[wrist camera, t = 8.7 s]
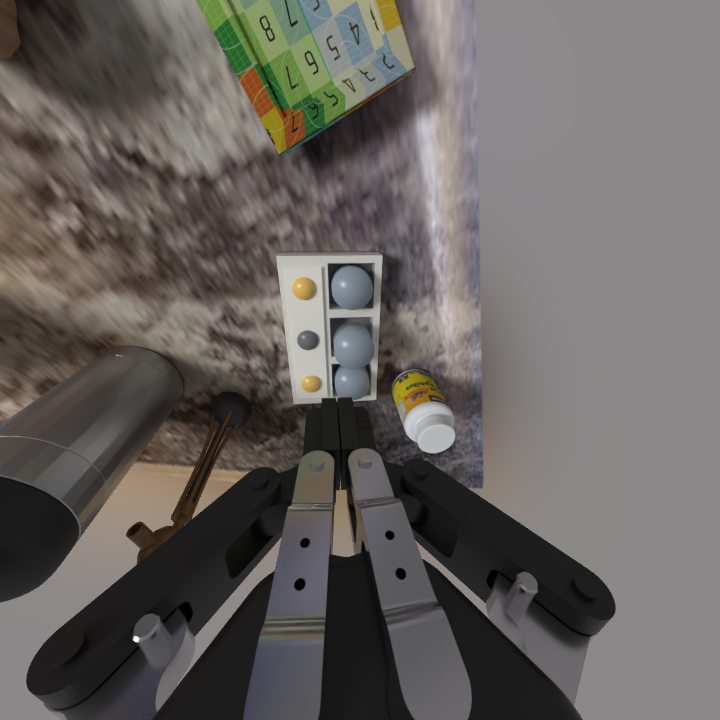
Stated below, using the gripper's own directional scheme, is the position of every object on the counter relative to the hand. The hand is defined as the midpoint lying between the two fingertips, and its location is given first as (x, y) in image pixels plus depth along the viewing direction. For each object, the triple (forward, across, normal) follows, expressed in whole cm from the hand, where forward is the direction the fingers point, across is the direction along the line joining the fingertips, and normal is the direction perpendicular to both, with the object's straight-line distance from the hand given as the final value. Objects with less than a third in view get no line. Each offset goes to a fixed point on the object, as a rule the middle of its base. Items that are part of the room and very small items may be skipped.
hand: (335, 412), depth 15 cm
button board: (+20, 0, +4) cm, 20 cm away
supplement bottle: (+20, -11, +12) cm, 26 cm away
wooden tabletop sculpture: (+20, +13, +14) cm, 28 cm away
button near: (+19, -2, -2) cm, 20 cm away
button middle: (+17, -2, +4) cm, 18 cm away
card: (+18, +2, +4) cm, 18 cm away
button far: (+19, -3, +9) cm, 22 cm away
